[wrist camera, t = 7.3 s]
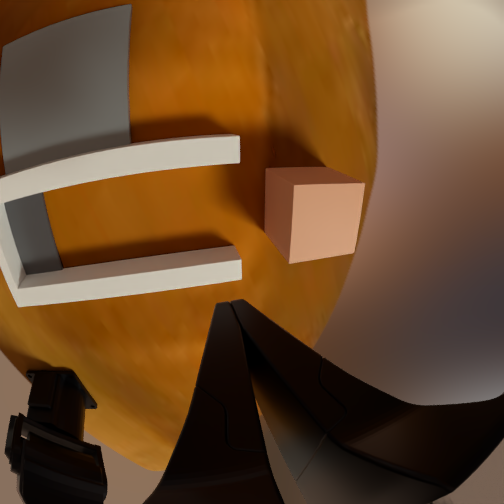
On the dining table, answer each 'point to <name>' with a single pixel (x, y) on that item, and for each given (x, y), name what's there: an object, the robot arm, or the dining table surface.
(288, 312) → the dining table surface
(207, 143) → the channel
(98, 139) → the coaster
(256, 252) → the dining table surface
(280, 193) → the block
